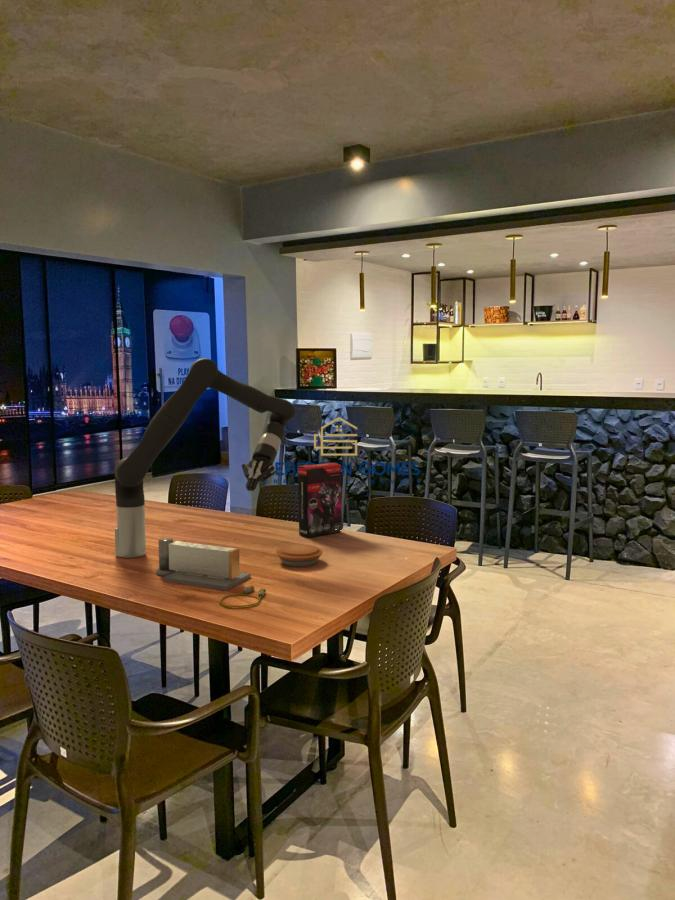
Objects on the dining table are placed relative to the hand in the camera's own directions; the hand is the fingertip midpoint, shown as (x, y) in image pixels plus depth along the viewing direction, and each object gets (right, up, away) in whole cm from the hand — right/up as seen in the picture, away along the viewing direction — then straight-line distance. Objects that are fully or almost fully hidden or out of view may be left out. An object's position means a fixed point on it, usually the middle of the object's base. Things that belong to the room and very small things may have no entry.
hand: (249, 489), depth 226 cm
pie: (+16, -24, +1) cm, 29 cm away
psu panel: (-14, -26, -17) cm, 34 cm away
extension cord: (+3, -29, -37) cm, 47 cm away
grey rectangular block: (-14, -24, -18) cm, 33 cm away
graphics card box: (+22, -20, +41) cm, 50 cm away
